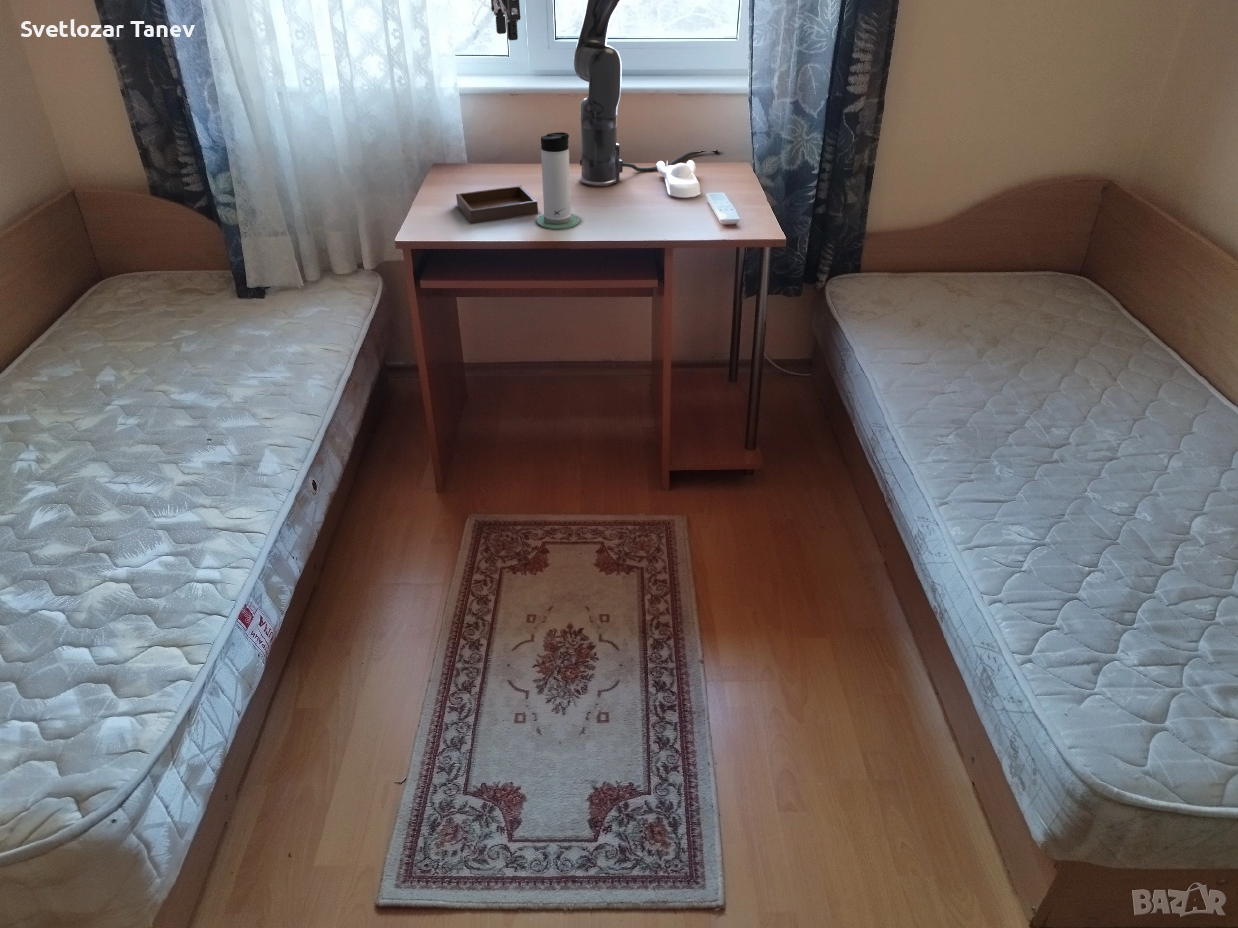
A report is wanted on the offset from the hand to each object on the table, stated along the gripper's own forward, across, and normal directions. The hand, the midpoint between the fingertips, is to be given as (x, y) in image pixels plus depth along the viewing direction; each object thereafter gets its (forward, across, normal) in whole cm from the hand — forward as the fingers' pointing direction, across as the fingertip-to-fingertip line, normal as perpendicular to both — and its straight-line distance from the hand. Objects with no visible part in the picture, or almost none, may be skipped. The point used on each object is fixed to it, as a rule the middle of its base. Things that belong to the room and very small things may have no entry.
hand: (507, 36), depth 204 cm
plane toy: (+36, -16, -39) cm, 56 cm away
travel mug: (+36, -27, -1) cm, 44 cm away
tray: (+36, -13, +10) cm, 39 cm away
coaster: (+36, -26, -1) cm, 44 cm away
